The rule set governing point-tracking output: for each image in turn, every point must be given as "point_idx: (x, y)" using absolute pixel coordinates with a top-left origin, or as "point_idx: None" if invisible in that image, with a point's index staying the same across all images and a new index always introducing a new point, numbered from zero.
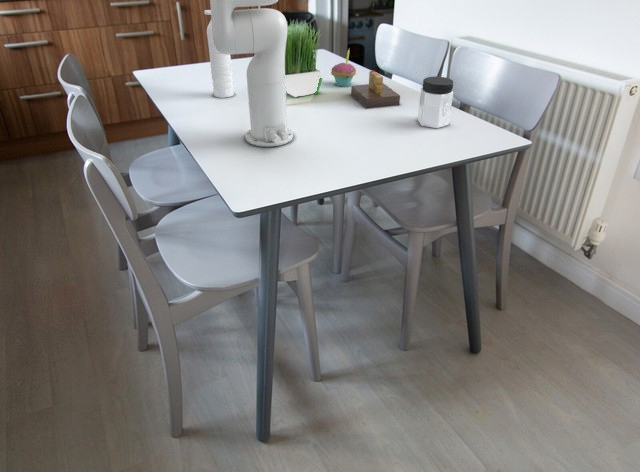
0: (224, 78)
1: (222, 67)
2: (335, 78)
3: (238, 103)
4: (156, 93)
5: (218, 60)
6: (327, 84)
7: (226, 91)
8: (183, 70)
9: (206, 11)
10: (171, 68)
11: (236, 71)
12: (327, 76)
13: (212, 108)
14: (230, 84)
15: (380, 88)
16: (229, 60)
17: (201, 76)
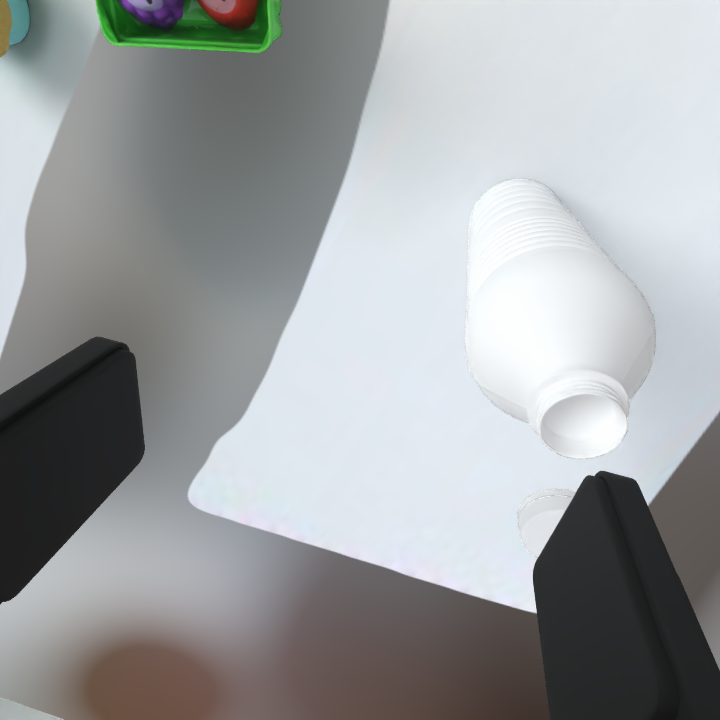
0: (544, 195)
1: (558, 207)
2: (10, 7)
3: (545, 60)
4: (696, 418)
5: (582, 226)
6: (66, 59)
7: (532, 183)
8: (442, 547)
9: None
10: (460, 582)
11: (306, 437)
12: (34, 168)
13: (695, 70)
14: (506, 190)
15: None
16: (502, 218)
17: (434, 468)
